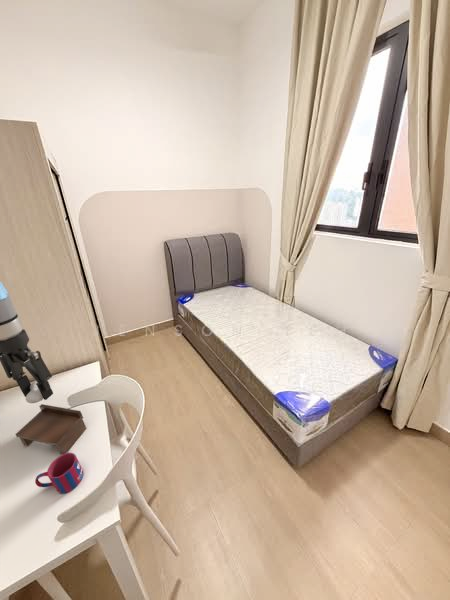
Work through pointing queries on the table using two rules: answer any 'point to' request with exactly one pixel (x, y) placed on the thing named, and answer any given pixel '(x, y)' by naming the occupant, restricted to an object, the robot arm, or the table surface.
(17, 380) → the robot arm
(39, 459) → the table surface
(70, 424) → the shelf
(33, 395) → the smooth white sculpture
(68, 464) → the mug
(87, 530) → the table surface
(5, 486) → the table surface
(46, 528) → the table surface
